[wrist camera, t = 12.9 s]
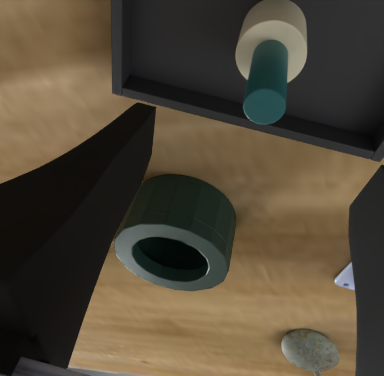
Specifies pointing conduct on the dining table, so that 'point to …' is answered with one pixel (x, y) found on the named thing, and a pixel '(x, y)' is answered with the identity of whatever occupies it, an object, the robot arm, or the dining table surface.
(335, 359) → the soupspoon
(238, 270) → the dining table surface
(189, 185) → the jar
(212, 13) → the tray
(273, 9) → the teal peg on base
